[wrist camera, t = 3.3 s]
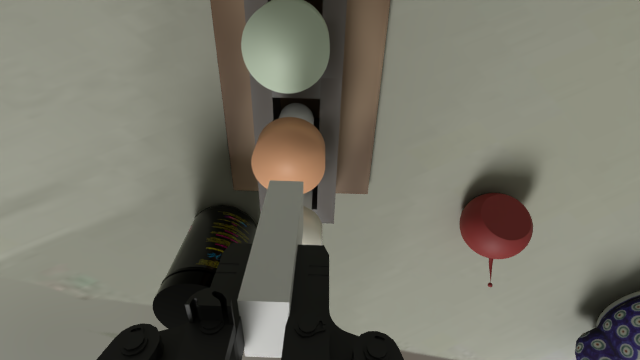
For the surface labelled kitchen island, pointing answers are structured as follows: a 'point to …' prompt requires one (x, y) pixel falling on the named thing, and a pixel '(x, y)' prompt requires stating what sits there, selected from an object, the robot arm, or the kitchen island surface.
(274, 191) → the robot arm
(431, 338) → the kitchen island surface
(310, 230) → the cream button
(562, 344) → the kitchen island surface
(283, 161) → the orange capped peg
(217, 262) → the supplement container
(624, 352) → the teapot
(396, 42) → the kitchen island surface
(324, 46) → the sage button
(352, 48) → the button board
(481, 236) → the fruit
